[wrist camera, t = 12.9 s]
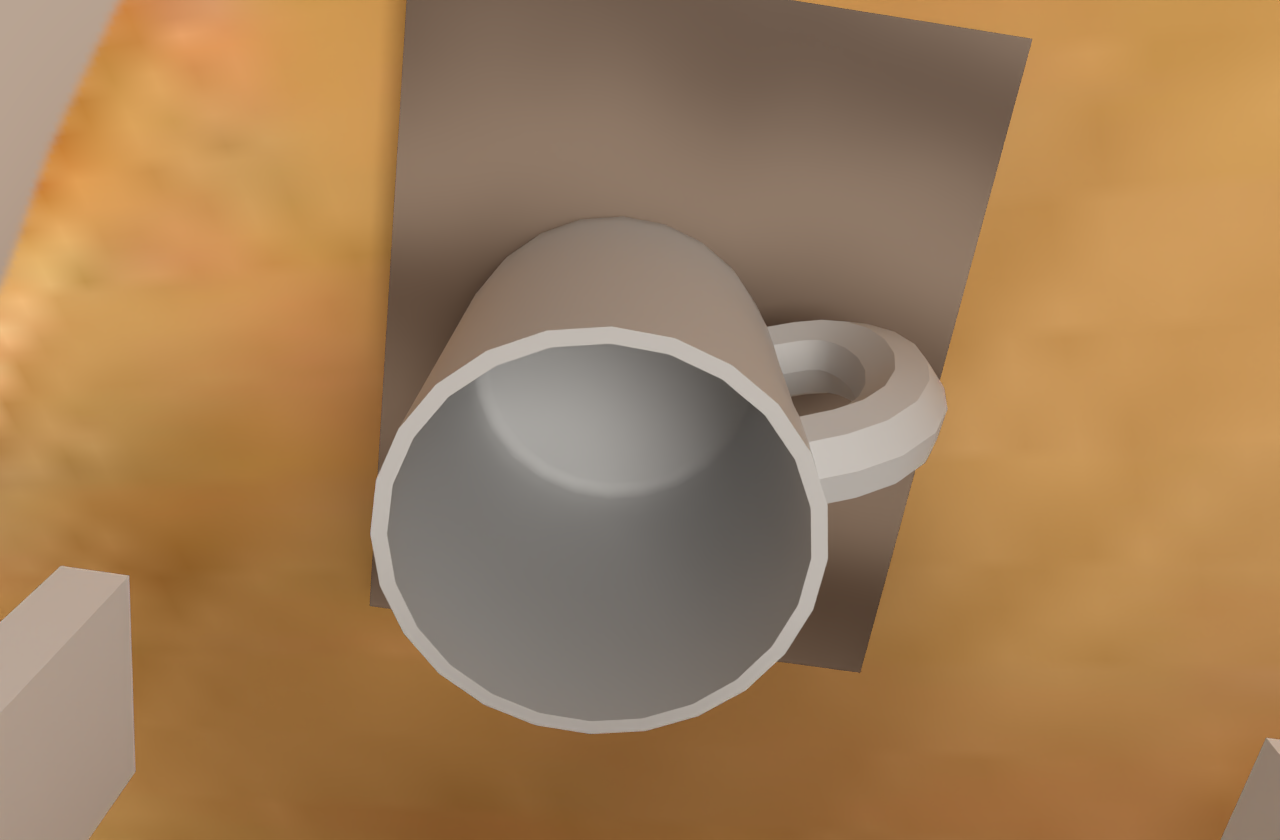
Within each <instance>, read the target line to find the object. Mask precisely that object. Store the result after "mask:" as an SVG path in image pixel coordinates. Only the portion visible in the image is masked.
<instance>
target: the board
mask: <svg viewBox="0 0 1280 840" xmlns="http://www.w3.org/2000/svg"><path fill="white" fill-rule="evenodd" d="M1031 42H1032V39H1030V38H1023V37H1017V36H1011V35H1005V34H999V33H992V32H986V31H980V30H974V29H967V28H961V27H955V26H949V25H943V24H936V23H930V22H924V21H918V20H911V19H905V18H899V17H893V16H887V15H880V14H874V13H868V12H862V11H855V10H849V9H843V8H837V7H831V6H824V5H818V4H812V3H806V2H799V1H793V0H407V4H406V20H405V37H404V53H403V69H402V86H401V102H400V118H399V135H398V151H397V167H396V184H395V200H394V216H393V233H392V249H391V266H390V282H389V298H388V315H387V331H386V347H385V364H384V380H383V396H382V413H381V429H380V445H379V462H378V474H379V472H380V470H381V468H382V465H383V463H384V461H385V458H386V456H387V454H388V452H389V449H390V447H391V445H392V442H393V440H394V438H395V436H396V433H397V431H398V429H399V427H400V425H401V424H402V422H403V420H404V418H405V417H406V415H407V413H408V411H409V410H410V408H411V406H412V404H413V403H414V401H415V399H416V397H417V396H418V394H419V392H420V390H421V389H422V387H423V385H424V383H425V382H426V380H427V378H428V376H429V375H430V373H431V371H432V369H433V368H434V366H435V364H436V362H437V361H438V359H439V357H440V355H441V354H442V352H443V350H444V348H445V347H446V345H447V343H448V341H449V340H450V338H451V336H452V334H453V333H454V331H455V329H456V327H457V326H458V324H459V322H460V320H461V319H462V317H463V315H464V313H465V312H466V310H467V308H468V306H469V305H470V303H471V301H472V299H473V298H474V296H475V294H476V293H477V292H478V291H479V289H480V288H481V287H482V286H483V285H484V283H485V282H486V281H487V280H488V279H489V277H490V276H491V275H492V274H493V273H494V271H495V270H496V269H497V268H498V266H499V265H500V264H501V263H502V262H503V261H504V260H505V259H506V257H507V256H509V255H510V254H512V253H513V252H515V251H516V250H518V249H519V248H520V247H522V246H523V245H525V244H526V243H528V242H529V241H531V240H532V239H534V238H535V237H537V236H538V235H539V234H541V233H543V232H546V231H549V230H552V229H555V228H557V227H560V226H563V225H566V224H569V223H572V222H575V221H578V220H580V219H592V218H607V217H622V216H624V217H629V218H634V219H639V220H645V221H650V222H655V223H660V224H665V225H667V226H669V227H671V228H673V229H675V230H677V231H679V232H681V233H684V234H686V235H688V236H690V237H692V238H694V239H696V240H698V241H700V242H702V243H703V244H704V245H706V246H707V247H708V248H709V249H710V250H711V251H712V252H714V253H715V254H716V255H717V256H718V257H719V258H721V259H722V260H723V261H724V262H725V263H726V264H727V265H729V266H730V267H731V268H732V269H733V270H734V271H735V273H736V274H737V276H738V277H739V279H740V281H741V282H742V284H743V285H744V287H745V288H746V290H747V291H748V293H749V294H750V296H751V297H752V299H753V300H754V302H755V304H756V306H757V308H758V310H759V312H760V314H761V316H762V318H763V320H764V322H765V324H766V326H767V327H769V326H775V325H781V324H786V323H792V322H801V321H813V320H832V321H845V322H855V323H864V324H869V325H873V326H876V327H880V328H883V329H887V330H890V331H894V332H896V333H897V334H899V335H901V336H902V337H904V338H905V339H907V340H909V341H910V342H912V343H914V344H915V345H916V346H917V348H918V349H919V350H920V352H921V353H922V354H923V356H924V357H925V358H926V360H927V361H928V363H929V364H930V366H931V367H932V369H933V371H934V372H935V374H936V375H937V377H938V379H939V380H940V377H941V373H942V370H943V366H944V362H945V359H946V355H947V351H948V348H949V344H950V340H951V337H952V333H953V329H954V326H955V322H956V318H957V315H958V311H959V307H960V303H961V300H962V296H963V292H964V289H965V285H966V281H967V278H968V274H969V270H970V267H971V263H972V259H973V256H974V252H975V248H976V245H977V241H978V237H979V234H980V230H981V226H982V222H983V219H984V215H985V211H986V208H987V204H988V200H989V197H990V193H991V189H992V186H993V182H994V178H995V175H996V171H997V167H998V164H999V160H1000V156H1001V153H1002V149H1003V145H1004V141H1005V138H1006V134H1007V130H1008V127H1009V123H1010V119H1011V116H1012V112H1013V108H1014V105H1015V101H1016V97H1017V94H1018V90H1019V86H1020V83H1021V79H1022V75H1023V72H1024V68H1025V64H1026V60H1027V57H1028V53H1029V49H1030V46H1031ZM791 399H792V402H793V405H794V407H795V409H796V411H797V413H798V415H799V417H800V416H805V415H810V414H814V413H819V412H824V411H829V410H834V409H837V408H840V407H843V406H846V405H848V404H850V403H851V402H852V401H851V400H849V399H847V398H844V397H842V396H840V395H838V394H832V393H817V394H804V395H798V396H792V397H791ZM914 473H915V470H914V471H913V472H911V473H910V474H909V475H907V476H906V477H904V478H903V479H902V480H900V481H899V482H897V483H896V484H893V485H890V486H888V487H885V488H882V489H879V490H876V491H874V492H871V493H868V494H865V495H862V496H860V497H857V498H852V499H847V500H843V501H838V502H833V503H828V504H827V505H828V560H827V564H826V567H825V571H824V574H823V578H822V581H821V584H820V588H819V591H818V595H817V598H816V602H815V605H814V609H813V611H812V612H811V614H810V615H809V617H808V619H807V620H806V622H805V623H804V625H803V626H802V628H801V630H800V631H799V633H798V634H797V636H796V637H795V639H794V641H793V642H792V644H791V645H790V647H789V648H788V650H787V652H786V653H785V654H784V655H783V656H782V657H781V658H780V659H779V660H778V662H785V663H793V664H800V665H807V666H815V667H822V668H829V669H837V670H844V671H852V672H859V673H860V672H861V668H862V664H863V661H864V657H865V653H866V650H867V646H868V642H869V639H870V635H871V631H872V628H873V624H874V620H875V616H876V613H877V609H878V605H879V602H880V598H881V594H882V591H883V587H884V583H885V580H886V576H887V572H888V569H889V565H890V561H891V558H892V554H893V550H894V547H895V543H896V539H897V535H898V532H899V528H900V524H901V521H902V517H903V513H904V510H905V506H906V502H907V499H908V495H909V491H910V488H911V484H912V480H913V477H914ZM370 606H374V607H381V608H389V609H391V607H390V605H389V603H388V601H387V599H386V597H385V595H384V593H383V591H382V589H381V587H380V584H379V579H378V573H377V568H376V562H375V557H374V551H373V560H372V576H371V592H370Z"/></svg>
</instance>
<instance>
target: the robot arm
mask: <svg viewBox="0 0 1280 840" xmlns="http://www.w3.org/2000/svg"><path fill="white" fill-rule="evenodd" d="M135 772H136V770H135V739H134V707H133V676H132V645H131V613H130V582H129V575H122V574H115V573H108V572H101V571H94V570H87V569H80V568H73V567H66V566H60V567H59V568H58V569H57V570H56V571H55V572H54V573H52V574H51V575H50V576H49V577H48V578H47V579H46V580H45V581H44V582H43V583H42V584H41V585H40V586H39V587H37V588H36V589H35V590H34V591H33V592H32V593H31V594H30V595H29V596H28V597H27V598H26V599H25V600H23V601H22V602H21V603H20V604H19V605H18V606H17V607H16V608H15V609H14V610H13V611H12V612H11V613H9V614H8V615H7V616H6V617H5V618H4V619H3V620H2V621H1V622H0V840H89V838H90V837H91V835H92V834H93V832H94V831H95V829H96V828H97V827H98V825H99V824H100V822H101V821H102V819H103V818H104V816H105V815H106V814H107V812H108V811H109V809H110V808H111V806H112V805H113V803H114V802H115V801H116V799H117V798H118V796H119V795H120V793H121V792H122V790H123V789H124V788H125V786H126V785H127V783H128V782H129V780H130V779H131V777H132V776H133V775H134V773H135ZM1221 840H1280V740H1278V739H1271V738H1266V739H1265V742H1264V744H1263V746H1262V748H1261V751H1260V753H1259V755H1258V757H1257V760H1256V762H1255V764H1254V766H1253V768H1252V771H1251V773H1250V775H1249V777H1248V780H1247V782H1246V784H1245V786H1244V789H1243V791H1242V793H1241V795H1240V798H1239V800H1238V802H1237V804H1236V807H1235V809H1234V811H1233V813H1232V816H1231V818H1230V820H1229V822H1228V825H1227V827H1226V829H1225V831H1224V833H1223V836H1222V838H1221Z"/></svg>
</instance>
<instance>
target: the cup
mask: <svg viewBox="0 0 1280 840" xmlns="http://www.w3.org/2000/svg"><path fill="white" fill-rule="evenodd" d="M817 393H832V394H838V395H840V396H842V397H844V398H847V399H849V400H851V401H852V402H851V403H850V404H848V405H846V406H843V407H840V408H837V409H834V410H829V411H824V412H819V413H814V414H810V415H805V416H800V417H799V415H798V413H797V411H796V409H795V407H794V405H793V402H792V399H791V397H792V396H798V395H804V394H817ZM946 412H947V403H946V396H945V390H944V387H943V385H942V383H941V382H940V380H939V379H938V377H937V375H936V374H935V372H934V371H933V369H932V367H931V366H930V364H929V363H928V361H927V360H926V358H925V357H924V356H923V354H922V353H921V352H920V350H919V349H918V348H917V346H916V345H915V344H914V343H912V342H910V341H909V340H907V339H905V338H904V337H902V336H901V335H899V334H897V333H896V332H894V331H890V330H887V329H883V328H880V327H876V326H873V325H869V324H864V323H855V322H845V321H832V320H813V321H801V322H792V323H786V324H781V325H775V326H769V327H767V326H766V324H765V322H764V320H763V318H762V316H761V314H760V312H759V310H758V308H757V306H756V304H755V302H754V300H753V299H752V297H751V296H750V294H749V293H748V291H747V290H746V288H745V287H744V285H743V284H742V282H741V281H740V279H739V277H738V276H737V274H736V273H735V271H734V270H733V269H732V268H731V267H730V266H729V265H727V264H726V263H725V262H724V261H723V260H722V259H721V258H719V257H718V256H717V255H716V254H715V253H714V252H712V251H711V250H710V249H709V248H708V247H707V246H706V245H704V244H703V243H702V242H700V241H698V240H696V239H694V238H692V237H690V236H688V235H686V234H684V233H681V232H679V231H677V230H675V229H673V228H671V227H669V226H667V225H665V224H660V223H655V222H650V221H645V220H639V219H634V218H629V217H624V216H622V217H607V218H592V219H580V220H578V221H575V222H572V223H569V224H566V225H563V226H560V227H557V228H555V229H552V230H549V231H546V232H543V233H541V234H539V235H538V236H537V237H535V238H534V239H532V240H531V241H529V242H528V243H526V244H525V245H523V246H522V247H520V248H519V249H518V250H516V251H515V252H513V253H512V254H510V255H509V256H507V257H506V259H505V260H504V261H503V262H502V263H501V264H500V265H499V266H498V268H497V269H496V270H495V271H494V273H493V274H492V275H491V276H490V277H489V279H488V280H487V281H486V282H485V283H484V285H483V286H482V287H481V288H480V289H479V291H478V292H477V293H476V294H475V296H474V298H473V299H472V301H471V303H470V305H469V306H468V308H467V310H466V312H465V313H464V315H463V317H462V319H461V320H460V322H459V324H458V326H457V327H456V329H455V331H454V333H453V334H452V336H451V338H450V340H449V341H448V343H447V345H446V347H445V348H444V350H443V352H442V354H441V355H440V357H439V359H438V361H437V362H436V364H435V366H434V368H433V369H432V371H431V373H430V375H429V376H428V378H427V380H426V382H425V383H424V385H423V387H422V389H421V390H420V392H419V394H418V396H417V397H416V399H415V401H414V403H413V404H412V406H411V408H410V410H409V411H408V413H407V415H406V417H405V418H404V420H403V422H402V424H401V425H400V427H399V429H398V431H397V433H396V436H395V438H394V440H393V442H392V445H391V447H390V449H389V452H388V454H387V456H386V458H385V461H384V463H383V465H382V468H381V470H380V472H379V474H378V477H377V479H376V485H375V495H374V504H373V513H372V522H371V531H370V535H371V540H372V546H373V551H374V557H375V562H376V568H377V573H378V579H379V584H380V587H381V589H382V591H383V593H384V595H385V597H386V599H387V601H388V603H389V605H390V607H391V609H392V611H393V613H394V615H395V617H396V619H397V621H398V623H399V625H400V627H401V629H402V631H403V633H404V634H405V635H406V637H407V638H408V639H409V640H410V641H411V642H412V643H413V645H414V646H415V647H416V648H417V649H418V650H419V651H420V653H421V654H422V655H423V656H424V657H425V658H426V659H427V660H428V662H429V663H430V664H431V665H432V666H433V667H434V668H435V670H436V671H437V672H438V673H439V674H440V675H442V676H443V677H445V678H446V679H448V680H449V681H450V682H452V683H453V684H455V685H456V686H458V687H459V688H461V689H462V690H463V691H465V692H466V693H468V694H469V695H471V696H472V697H474V698H475V699H477V700H478V701H479V702H481V703H482V704H484V705H486V706H489V707H491V708H494V709H496V710H499V711H501V712H504V713H506V714H509V715H511V716H514V717H516V718H519V719H521V720H524V721H526V722H529V723H531V724H534V725H537V726H543V727H550V728H556V729H562V730H568V731H575V732H581V733H587V734H599V733H618V732H637V731H647V730H651V729H655V728H658V727H662V726H665V725H669V724H672V723H676V722H679V721H683V720H686V719H690V718H694V717H697V716H699V715H701V714H703V713H705V712H707V711H709V710H710V709H712V708H714V707H716V706H718V705H720V704H721V703H723V702H725V701H727V700H729V699H731V698H732V697H734V696H736V695H738V694H740V693H742V692H743V691H745V690H747V689H748V688H749V687H750V686H751V685H752V684H753V683H754V682H755V681H756V680H757V679H758V678H760V677H761V676H762V675H763V674H764V673H765V672H766V671H767V670H768V669H769V668H770V667H771V666H773V665H774V664H775V663H776V662H777V661H778V660H779V659H780V658H781V657H782V656H783V655H784V654H785V653H786V652H787V650H788V648H789V647H790V645H791V644H792V642H793V641H794V639H795V637H796V636H797V634H798V633H799V631H800V630H801V628H802V626H803V625H804V623H805V622H806V620H807V619H808V617H809V615H810V614H811V612H812V611H813V609H814V605H815V602H816V598H817V595H818V591H819V588H820V584H821V581H822V578H823V574H824V571H825V567H826V564H827V560H828V505H827V504H828V503H833V502H838V501H843V500H847V499H852V498H857V497H860V496H862V495H865V494H868V493H871V492H874V491H876V490H879V489H882V488H885V487H888V486H890V485H893V484H896V483H897V482H899V481H900V480H902V479H903V478H904V477H906V476H907V475H909V474H910V473H911V472H913V471H914V470H916V469H917V468H918V467H920V466H921V465H923V464H924V463H925V462H926V460H927V458H928V456H929V454H930V452H931V450H932V448H933V446H934V444H935V442H936V440H937V438H938V435H939V432H940V429H941V426H942V423H943V420H944V418H945V415H946Z"/></svg>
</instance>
